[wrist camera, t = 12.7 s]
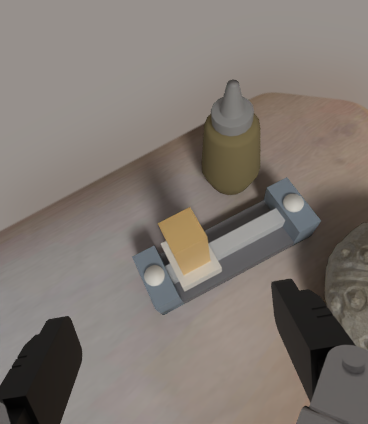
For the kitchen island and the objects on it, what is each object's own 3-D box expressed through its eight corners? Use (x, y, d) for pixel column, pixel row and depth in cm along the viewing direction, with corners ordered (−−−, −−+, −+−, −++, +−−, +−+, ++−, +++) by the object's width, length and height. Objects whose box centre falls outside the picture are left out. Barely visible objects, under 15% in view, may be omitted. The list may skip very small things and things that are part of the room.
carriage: (186, 294, 39) (171, 270, 28) (165, 253, 41) (145, 216, 31) (222, 275, 39) (221, 244, 29) (199, 235, 42) (190, 193, 31)
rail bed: (163, 315, 40) (154, 309, 35) (141, 267, 43) (131, 255, 38) (310, 235, 42) (322, 219, 37) (280, 195, 45) (287, 175, 40)
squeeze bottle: (255, 205, 45) (273, 118, 29) (199, 199, 46) (186, 114, 30) (259, 157, 48) (277, 55, 32) (206, 154, 50) (198, 54, 34)
